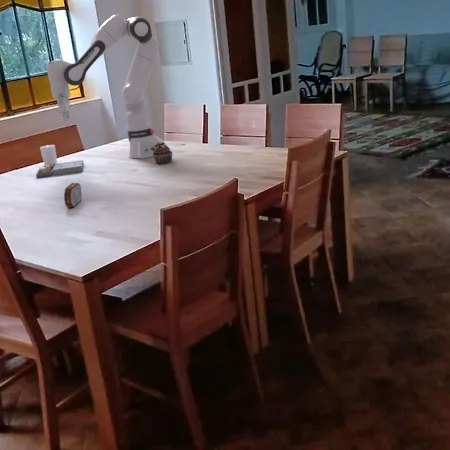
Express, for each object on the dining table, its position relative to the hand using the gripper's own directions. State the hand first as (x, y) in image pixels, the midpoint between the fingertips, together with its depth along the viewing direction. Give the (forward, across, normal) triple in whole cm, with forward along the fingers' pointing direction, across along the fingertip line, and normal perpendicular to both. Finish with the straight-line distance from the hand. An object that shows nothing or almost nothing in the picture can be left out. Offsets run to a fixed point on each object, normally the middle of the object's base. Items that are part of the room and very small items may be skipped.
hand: (66, 119), depth 329 cm
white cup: (+25, +17, +15) cm, 34 cm away
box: (+24, -8, +15) cm, 30 cm away
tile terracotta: (+22, -11, +12) cm, 27 cm away
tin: (+25, -81, -4) cm, 85 cm away
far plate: (+25, -8, +4) cm, 26 cm away
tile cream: (+22, -4, +16) cm, 27 cm away
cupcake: (+26, -22, -44) cm, 56 cm away
